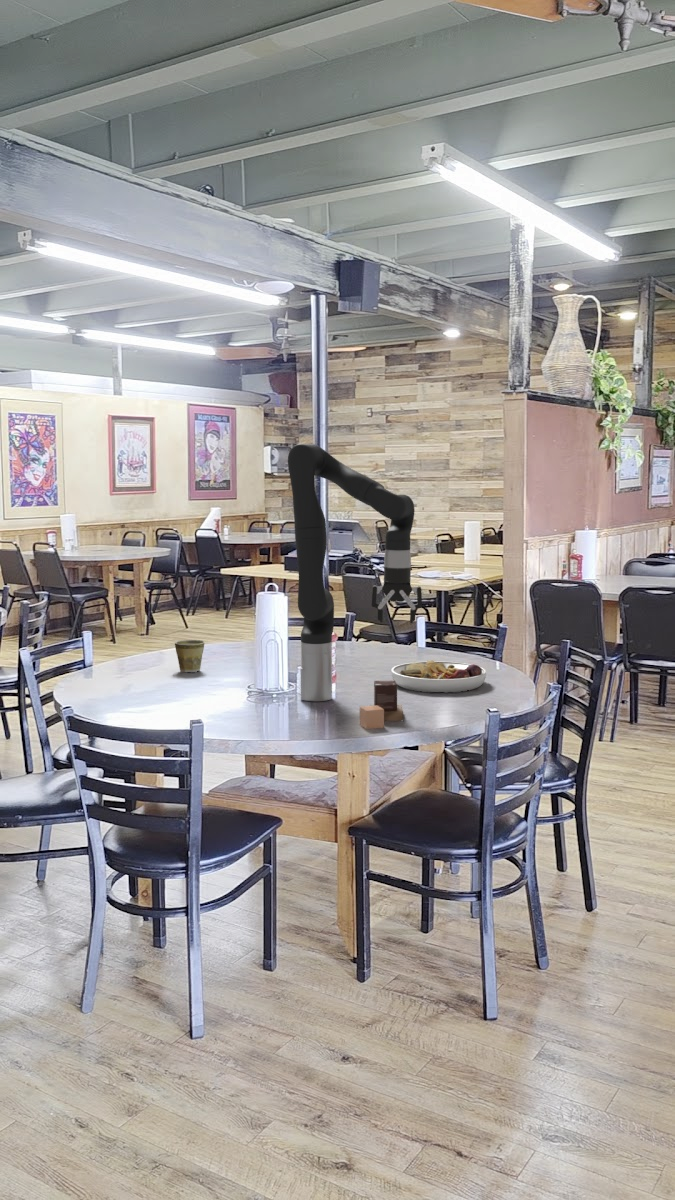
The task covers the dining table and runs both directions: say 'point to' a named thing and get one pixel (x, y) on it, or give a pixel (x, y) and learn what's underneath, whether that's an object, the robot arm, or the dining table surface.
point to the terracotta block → (371, 717)
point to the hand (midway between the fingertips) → (396, 622)
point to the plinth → (393, 714)
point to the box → (385, 695)
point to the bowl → (438, 676)
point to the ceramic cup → (189, 654)
